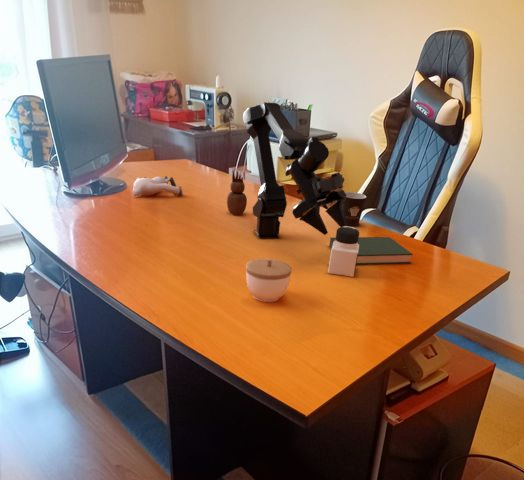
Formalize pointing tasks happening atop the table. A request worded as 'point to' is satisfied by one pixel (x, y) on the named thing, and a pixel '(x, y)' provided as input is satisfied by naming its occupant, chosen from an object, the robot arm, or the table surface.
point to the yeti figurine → (155, 186)
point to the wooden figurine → (236, 196)
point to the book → (380, 251)
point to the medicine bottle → (344, 252)
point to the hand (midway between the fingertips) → (335, 230)
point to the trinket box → (267, 278)
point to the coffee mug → (353, 208)
